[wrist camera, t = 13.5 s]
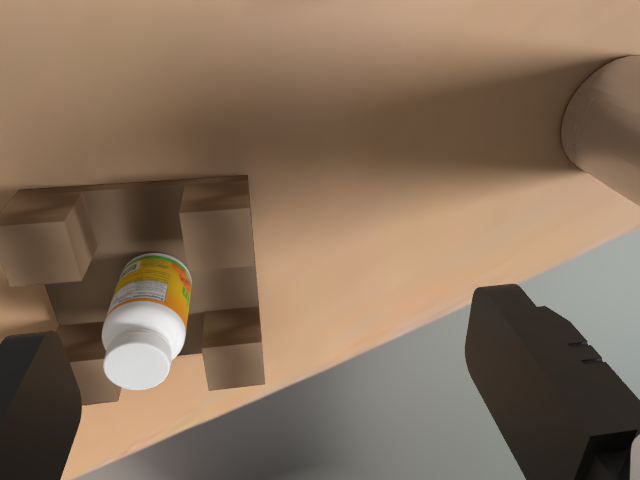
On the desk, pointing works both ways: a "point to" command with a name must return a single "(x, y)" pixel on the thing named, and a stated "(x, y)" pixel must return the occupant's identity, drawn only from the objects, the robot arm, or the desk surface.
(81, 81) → the desk surface
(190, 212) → the cross slot block
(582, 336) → the robot arm
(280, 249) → the desk surface
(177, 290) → the supplement bottle
